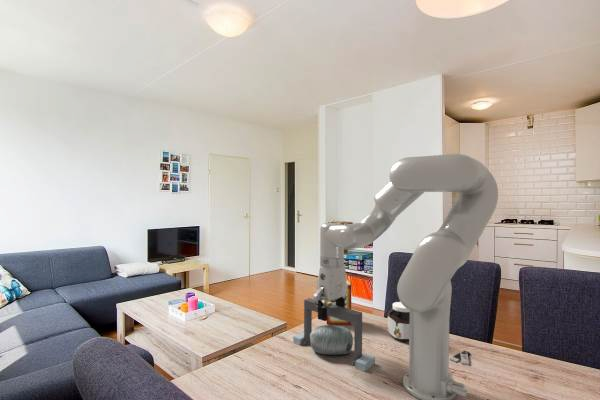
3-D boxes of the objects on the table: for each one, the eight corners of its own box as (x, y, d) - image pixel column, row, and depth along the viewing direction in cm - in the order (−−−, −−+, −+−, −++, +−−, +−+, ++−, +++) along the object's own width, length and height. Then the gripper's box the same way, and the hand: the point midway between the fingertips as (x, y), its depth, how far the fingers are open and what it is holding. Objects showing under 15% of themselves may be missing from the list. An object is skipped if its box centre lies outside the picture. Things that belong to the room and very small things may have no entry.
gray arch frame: (363, 360, 95) (364, 309, 95) (356, 366, 92) (356, 313, 92) (310, 340, 109) (310, 295, 109) (302, 344, 106) (302, 298, 106)
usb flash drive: (463, 352, 101) (463, 349, 101) (480, 359, 97) (480, 356, 97) (449, 361, 96) (449, 357, 96) (466, 368, 92) (466, 365, 92)
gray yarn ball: (355, 335, 105) (347, 314, 101) (357, 361, 97) (349, 339, 93) (315, 341, 108) (307, 320, 104) (314, 366, 100) (305, 345, 96)
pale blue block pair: (374, 363, 94) (374, 356, 94) (364, 371, 89) (364, 364, 89) (304, 336, 112) (304, 331, 112) (293, 342, 107) (293, 336, 107)
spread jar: (384, 334, 114) (384, 302, 114) (406, 328, 119) (406, 298, 119) (410, 348, 103) (410, 313, 103) (433, 341, 109) (433, 307, 109)
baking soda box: (349, 318, 129) (349, 279, 129) (351, 324, 123) (351, 283, 123) (326, 318, 130) (326, 279, 130) (326, 324, 123) (326, 283, 123)
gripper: (325, 267, 91) (324, 326, 91) (356, 259, 104) (356, 311, 104) (305, 264, 96) (305, 320, 96) (337, 256, 109) (337, 306, 109)
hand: (331, 315), depth 100 cm, fingers open, 9 cm apart
